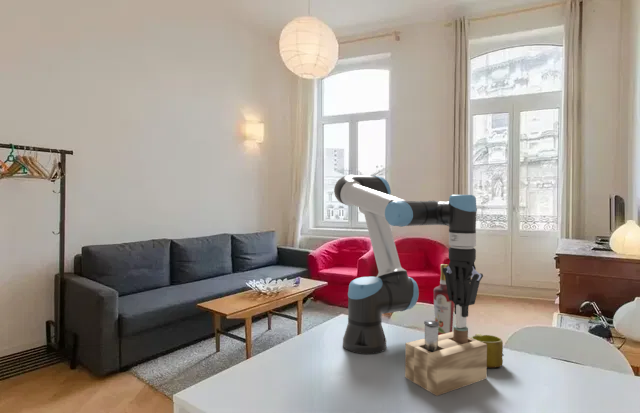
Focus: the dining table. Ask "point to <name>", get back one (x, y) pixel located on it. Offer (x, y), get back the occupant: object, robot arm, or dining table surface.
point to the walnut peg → (460, 335)
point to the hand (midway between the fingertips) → (461, 326)
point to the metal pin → (431, 335)
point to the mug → (492, 349)
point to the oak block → (446, 364)
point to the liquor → (443, 306)
